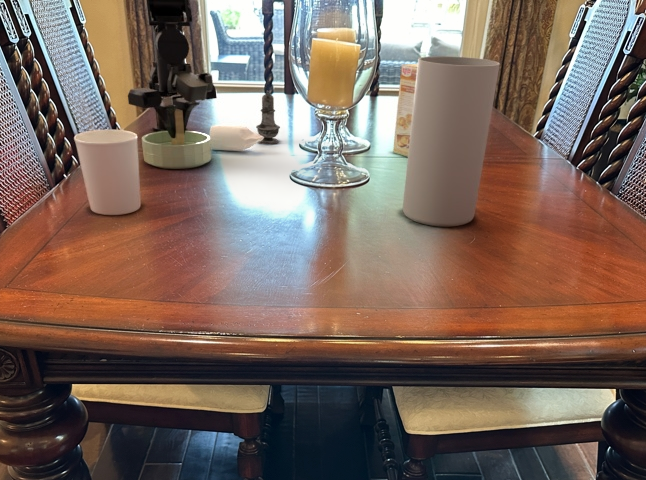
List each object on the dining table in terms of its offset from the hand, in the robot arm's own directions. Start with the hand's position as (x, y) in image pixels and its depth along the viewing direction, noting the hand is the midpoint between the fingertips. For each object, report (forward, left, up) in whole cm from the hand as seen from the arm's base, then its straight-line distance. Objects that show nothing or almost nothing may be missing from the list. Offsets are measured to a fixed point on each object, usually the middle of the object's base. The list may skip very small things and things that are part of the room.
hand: (177, 137), depth 130 cm
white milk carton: (+2, +16, -5) cm, 17 cm away
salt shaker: (0, +28, -5) cm, 28 cm away
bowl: (0, 0, -5) cm, 5 cm away
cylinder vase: (+59, +10, -5) cm, 60 cm away
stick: (0, 0, -4) cm, 4 cm away
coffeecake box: (+32, +49, -5) cm, 58 cm away
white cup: (+17, -27, -5) cm, 32 cm away
